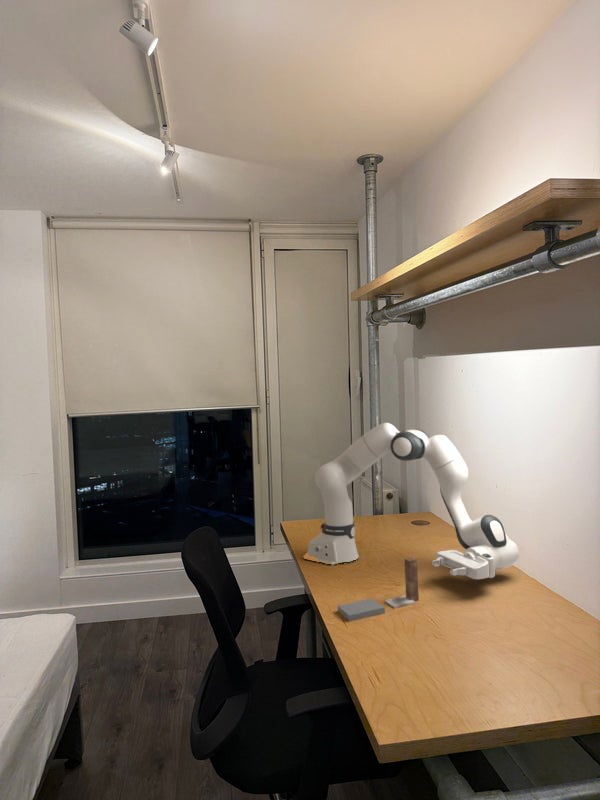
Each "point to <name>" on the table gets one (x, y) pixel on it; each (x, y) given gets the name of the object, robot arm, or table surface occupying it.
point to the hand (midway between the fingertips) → (442, 568)
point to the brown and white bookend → (407, 586)
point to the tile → (361, 609)
